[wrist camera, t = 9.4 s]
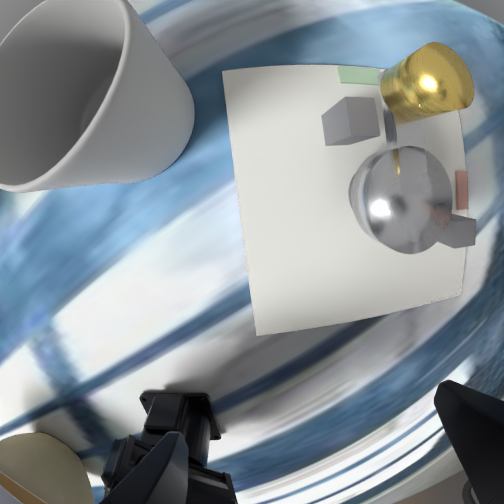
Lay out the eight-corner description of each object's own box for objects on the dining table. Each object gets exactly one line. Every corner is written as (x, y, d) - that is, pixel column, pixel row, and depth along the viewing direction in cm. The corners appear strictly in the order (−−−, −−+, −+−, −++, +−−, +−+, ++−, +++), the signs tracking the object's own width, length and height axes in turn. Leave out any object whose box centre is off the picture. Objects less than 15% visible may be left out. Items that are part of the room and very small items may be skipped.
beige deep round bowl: (86, 486, 29) (68, 532, 17) (6, 423, 25) (-23, 465, 14) (133, 475, 26) (114, 541, 15) (27, 392, 23) (-19, 451, 11)
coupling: (429, 240, 15) (495, 269, 9) (352, 248, 15) (407, 288, 9) (418, 86, 13) (482, 60, 7) (338, 75, 13) (385, 27, 7)
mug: (194, 57, 15) (147, -45, 5) (199, 175, 17) (133, 170, 7) (52, 95, 15) (-46, 68, 5) (53, 198, 17) (-57, 222, 7)
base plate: (455, 291, 20) (493, 316, 15) (256, 330, 20) (259, 376, 15) (446, 84, 16) (487, 69, 10) (222, 75, 16) (214, 39, 10)
